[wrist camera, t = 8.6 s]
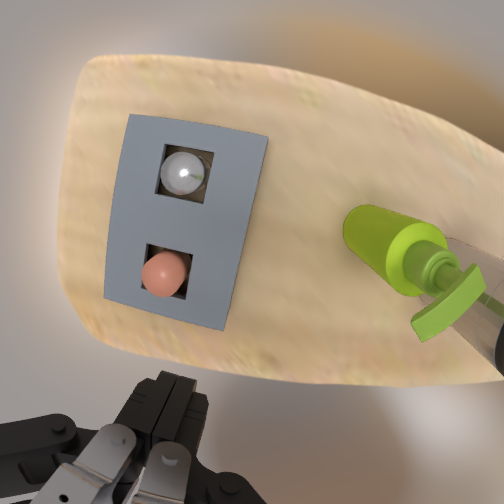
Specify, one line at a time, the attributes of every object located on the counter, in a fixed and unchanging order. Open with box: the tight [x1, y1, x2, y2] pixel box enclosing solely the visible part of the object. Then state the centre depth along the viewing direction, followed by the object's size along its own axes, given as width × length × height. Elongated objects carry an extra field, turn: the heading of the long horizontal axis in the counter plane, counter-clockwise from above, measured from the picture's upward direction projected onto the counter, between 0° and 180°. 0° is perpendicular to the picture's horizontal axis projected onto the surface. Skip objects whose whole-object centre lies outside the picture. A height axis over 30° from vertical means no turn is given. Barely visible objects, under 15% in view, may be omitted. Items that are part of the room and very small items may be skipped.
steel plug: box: [161, 152, 211, 195], centre depth 29 cm, size 4×4×5 cm
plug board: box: [104, 114, 268, 331], centre depth 31 cm, size 14×20×5 cm
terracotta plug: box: [141, 248, 192, 297], centre depth 31 cm, size 4×4×5 cm
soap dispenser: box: [343, 205, 487, 342], centre depth 24 cm, size 6×7×20 cm
